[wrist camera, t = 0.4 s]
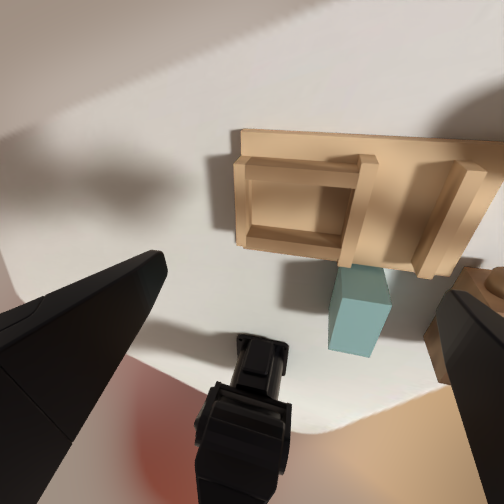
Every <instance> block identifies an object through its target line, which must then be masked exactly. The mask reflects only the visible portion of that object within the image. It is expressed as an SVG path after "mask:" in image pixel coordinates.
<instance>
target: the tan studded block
mask: <svg viewBox="0 0 504 504" xmlns="http://www.w3.org/2000/svg"><path fill="white" fill-rule="evenodd" d="M451 289H456V290H463V291H467V292H468V293H470V294H471V295H473V296H474V297H475V298H477V299H478V300H480V301H481V302H482V303H484V304H485V305H487V306H488V307H490V308H491V309H492V310H494V311H495V312H497V313H498V314H500V315H501V316H502V317H504V267H496V268H494V269H493V270H487V269H480V268H472V267H464V268H463V270H462V271H461V273H460V275H459V276H458V278H457V280H456V282H455V283H454V285H453V287H452V288H451ZM423 337H424V340H425V344H426V347H427V350H428V353H429V356H430V359H431V362H432V365H433V368H434V371H435V374H436V377H437V380H438V383H443V384H447V385H451V383H450V380H449V377H448V374H447V370H446V367H445V362H444V358H443V352H442V347H441V341H440V336H439V330H438V325H437V319H436V316H435V317H434V319H433V321H432V322H431V324H430V326H429V327H428V329H427V331H426V333H425V334H424V336H423Z"/></svg>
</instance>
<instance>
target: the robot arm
mask: <svg viewBox="0 0 504 504" xmlns="http://www.w3.org/2000/svg"><path fill="white" fill-rule="evenodd" d="M167 273H168V269H167V265H166V261H165V257H164V254H163V252H162V251H157V250H149V251H147V252H144V253H142V254H140V255H137V256H135V257H133V258H130V259H128V260H126V261H123V262H121V263H119V264H116V265H114V266H112V267H109V268H107V269H105V270H102V271H100V272H98V273H95V274H93V275H91V276H88V277H86V278H84V279H82V280H79V281H77V282H75V283H72V284H70V285H68V286H65V287H63V288H61V289H58V290H56V291H54V292H51V293H49V294H47V295H45V296H42V297H39V298H37V299H35V300H32V301H30V302H28V303H25V304H23V305H20V306H18V307H16V308H13V309H11V310H9V311H6V312H3V313H1V314H0V504H37V502H38V501H39V499H40V497H41V496H42V494H43V492H44V490H45V489H46V487H47V485H48V484H49V482H50V480H51V479H52V477H53V475H54V473H55V472H56V470H57V469H58V467H59V465H60V464H61V462H62V460H63V459H64V457H65V455H66V454H67V452H68V450H69V449H70V447H71V445H72V442H73V441H74V440H75V438H76V436H77V435H78V433H79V431H80V430H81V428H82V426H83V424H84V423H85V421H86V420H87V418H88V416H89V414H90V412H91V411H92V409H93V408H94V406H95V404H96V403H97V401H98V399H99V398H100V396H101V394H102V392H103V391H104V389H105V387H106V386H107V384H108V382H109V381H110V379H111V377H112V376H113V374H114V372H115V371H116V369H117V367H118V366H119V364H120V362H121V361H122V359H123V357H124V356H125V354H126V352H127V350H128V349H129V347H130V345H131V344H132V342H133V340H134V339H135V337H136V335H137V334H138V332H139V330H140V329H141V327H142V325H143V324H144V322H145V320H146V318H147V317H148V315H149V313H150V311H151V309H152V307H153V305H154V303H155V301H156V299H157V297H158V294H159V292H160V290H161V288H162V286H163V283H164V281H165V279H166V277H167ZM436 319H437V325H438V330H439V336H440V341H441V347H442V352H443V358H444V362H445V367H446V370H447V374H448V377H449V380H450V383H451V386H452V390H453V393H454V396H455V399H456V403H457V406H458V409H459V412H460V415H461V418H462V421H463V425H464V428H465V431H466V435H467V438H468V441H469V444H470V448H471V451H472V454H473V457H474V460H475V463H476V467H477V470H478V473H479V477H480V480H481V483H482V486H483V489H484V493H485V496H486V499H487V502H488V504H504V317H502V316H501V315H500V314H498V313H497V312H495V311H494V310H492V309H491V308H490V307H488V306H487V305H485V304H484V303H482V302H481V301H480V300H478V299H477V298H475V297H474V296H473V295H471V294H470V293H468V292H467V291H463V290H456V289H449V290H447V291H446V293H445V295H444V296H443V298H442V300H441V302H440V304H439V306H438V308H437V310H436ZM288 351H289V345H288V344H285V343H280V342H275V341H270V340H265V339H260V338H256V337H251V336H246V335H238V336H237V355H238V360H237V363H236V367H235V370H234V373H233V376H232V379H231V383H230V386H229V385H225V384H222V383H221V382H218V381H217V382H216V384H215V387H210V390H209V393H208V396H207V398H206V401H205V403H204V405H203V407H202V409H201V410H200V412H199V414H198V416H197V418H196V420H195V422H194V427H195V430H196V435H195V437H196V439H195V446H197V447H199V449H198V452H197V455H196V459H195V473H196V482H197V492H198V502H199V504H267V503H268V502H269V500H270V499H271V497H272V496H273V494H274V493H275V490H276V488H277V481H278V475H283V474H284V471H285V468H286V464H287V460H288V454H289V447H290V433H291V411H292V404H290V403H284V402H281V401H278V395H279V389H280V383H281V376H285V374H286V366H287V359H288Z"/></svg>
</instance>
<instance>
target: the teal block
mask: <svg viewBox="0 0 504 504" xmlns="http://www.w3.org/2000/svg"><path fill="white" fill-rule="evenodd" d="M391 307H392V303H391V298H390V294H389V290H388V286H387V282H386V278H385V274H384V270H383V268H381V267H374V266H367V265H359V264H352V265H351V268H347V267H340V266H339V268H338V273H337V277H336V281H335V285H334V289H333V293H332V297H331V301H330V306H329V323H328V349H329V350H334V351H339V352H344V353H349V354H354V355H359V356H363V357H368V358H370V355H371V353H372V351H373V349H374V346H375V344H376V342H377V339H378V337H379V335H380V333H381V330H382V328H383V326H384V323H385V321H386V319H387V317H388V314H389V312H390V310H391Z"/></svg>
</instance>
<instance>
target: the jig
mask: <svg viewBox="0 0 504 504" xmlns="http://www.w3.org/2000/svg"><path fill="white" fill-rule="evenodd" d="M233 169H234V193H235V218H236V243H237V246H243V248H244V249H251V250H258V251H266V252H273V253H280V254H287V255H294V256H302V257H309V258H316V259H323V260H331V261H337V266H340V267H347V268H351V265H352V264H359V265H367V266H374V267H381V268H388V269H396V270H403V271H410V272H415V274H416V276H417V278H424V279H431V280H432V278H433V276H434V275H439V276H446V277H449V276H450V275H451V273H452V271H453V269H454V268H455V266H456V264H457V262H458V261H459V259H460V257H461V255H462V253H463V252H464V250H465V248H466V246H467V245H468V243H469V241H470V239H471V237H472V236H473V234H474V232H475V230H476V229H477V227H478V225H479V223H480V222H481V220H482V218H483V216H484V214H485V213H486V211H487V209H488V207H489V206H490V204H491V202H492V200H493V198H494V197H495V195H496V193H497V191H498V190H499V188H500V186H501V184H502V183H503V181H504V142H500V141H481V140H461V139H441V138H422V137H402V136H382V135H363V134H343V133H323V132H303V131H284V130H264V129H243V130H242V131H241V156H240V157H239V158H238V159H237V160H236V162H235V163H234V164H233Z"/></svg>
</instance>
